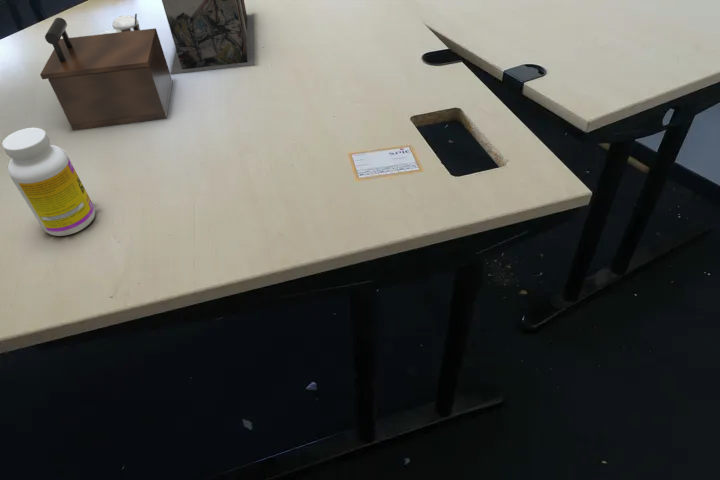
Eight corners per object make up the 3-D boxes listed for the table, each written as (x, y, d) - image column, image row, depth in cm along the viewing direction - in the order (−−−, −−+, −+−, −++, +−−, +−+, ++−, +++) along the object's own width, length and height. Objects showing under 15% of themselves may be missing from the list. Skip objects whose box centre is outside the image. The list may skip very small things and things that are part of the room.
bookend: (253, 14, 119) (239, -67, 107) (254, 64, 101) (237, -27, 89) (181, 21, 117) (159, -60, 106) (170, 74, 99) (141, -18, 88)
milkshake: (146, 72, 100) (128, 18, 93) (122, 68, 102) (103, 16, 95) (160, 61, 103) (143, 9, 96) (137, 58, 105) (119, 6, 98)
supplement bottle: (106, 218, 70) (64, 135, 61) (58, 245, 67) (6, 162, 58) (82, 198, 74) (39, 116, 65) (35, 223, 70) (-18, 140, 61)
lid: (42, 79, 80) (25, 44, 76) (61, 43, 89) (47, 10, 86) (149, 66, 82) (137, 32, 78) (157, 32, 91) (147, 0, 87)
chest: (72, 130, 87) (47, 79, 80) (88, 91, 96) (66, 43, 90) (166, 118, 88) (149, 67, 82) (172, 81, 97) (157, 33, 91)
